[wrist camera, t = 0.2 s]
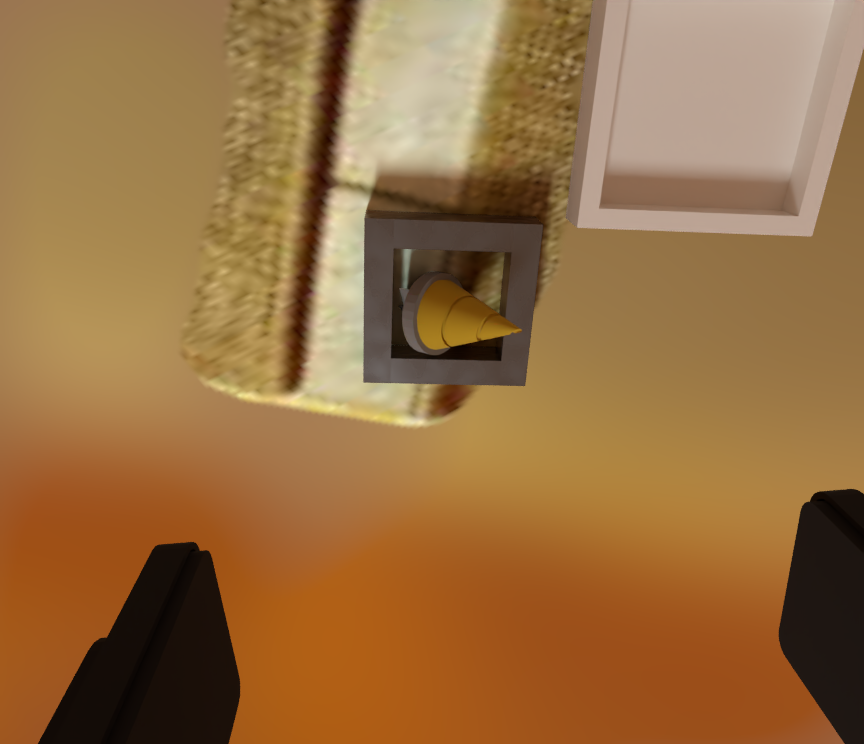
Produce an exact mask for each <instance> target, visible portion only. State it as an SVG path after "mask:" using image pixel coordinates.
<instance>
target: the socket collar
mask: <svg viewBox="0 0 864 744" xmlns="http://www.w3.org/2000/svg"><path fill="white" fill-rule="evenodd" d="M542 231H543V224H542V223H541V222H540V221H539V220H538V219H537V218H536V217H526V216H500V215H474V214H447V213H421V212H395V211H369V210H366V214H365V238H364V380H363V382H368V383H414V384H460V385H507V386H509V385H510V386H525V382H526V373H527V364H528V355H529V347H530V338H531V329H532V320H533V311H534V302H535V293H536V284H537V275H538V267H539V258H540V249H541V240H542ZM394 248H398V249H427V250H456V251H485V252H505V257H504V268H503V278H502V289H501V300H500V311H499V314H500V315H501V316H503V317H504V318H506V319H507V320H509V321H510V322H511V323H513V324H514V325H516V326H517V327H519V328H520V329H521V330H522V332H520V333H514V332H512V333H511V334H510V335H505V336H501V337H497V344H496V347H467V346H452V347H451V348H450V349H448V350H447V351H446V352H444V353H442V354H440V355H430V354H426V353H422V352H418V351H416V350H415V349H413V348H412V347H411V346H410V345H391V333H392V292H393V251H394Z"/></svg>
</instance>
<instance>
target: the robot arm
mask: <svg viewBox="0 0 864 744" xmlns="http://www.w3.org/2000/svg"><path fill="white" fill-rule="evenodd" d="M779 641H780V645H781V648H782V651H783V653H784V655H785V657H786V658H787V660H788V661H789V663H790V664H791V666H792V667H793V669H794V670H795V671H796V673H797V674H798V676H799V677H800V679H801V680H802V682H803V683H804V685H805V686H806V688H807V689H808V690H809V692H810V694H811V695H812V696H813V698H814V699H815V701H816V702H817V704H818V705H819V707H820V708H821V710H822V711H823V712H824V714H825V716H826V717H827V718H828V720H829V721H830V723H831V724H832V726H833V727H834V729H835V730H836V732H837V733H838V735H839V736H840V737H841V739H842V740H843V742H844V743H845V744H864V494H863V493H861V492H860V491H858V490H855V489H847V490H833V491H822V492H817V493H815V494H814V495H813V496H812V498H811V500H810V502H806V503H805V504H804V505H803V506H802V509H801V512H800V518H799V524H798V529H797V534H796V540H795V545H794V550H793V556H792V562H791V567H790V572H789V578H788V583H787V589H786V595H785V600H784V605H783V611H782V616H781V622H780V627H779ZM239 698H240V679H239V674H238V669H237V665H236V661H235V656H234V652H233V647H232V643H231V639H230V634H229V630H228V626H227V621H226V617H225V613H224V608H223V604H222V600H221V595H220V591H219V587H218V582H217V578H216V574H215V569H214V565H213V561H212V557H211V554H210V552H209V551H207V550H205V551H200V550H199V547H198V546H197V544H196V543H194V542H187V543H174V544H162V545H157V546H155V548H154V549H153V550H152V552H151V554H150V556H149V558H148V560H147V562H146V564H145V565H144V567H143V569H142V571H141V573H140V575H139V577H138V579H137V581H136V583H135V585H134V587H133V589H132V590H131V592H130V594H129V596H128V598H127V600H126V602H125V604H124V606H123V608H122V610H121V612H120V614H119V615H118V617H117V619H116V621H115V623H114V625H113V627H112V629H111V631H110V633H109V635H108V637H107V638H100V639H99V640H97V641H96V642H94V644H93V645H92V646H91V648H90V649H89V650H88V652H87V654H86V656H85V658H84V660H83V661H82V663H81V665H80V667H79V669H78V671H77V673H76V674H75V676H74V678H73V680H72V682H71V683H70V685H69V687H68V689H67V691H66V693H65V695H64V696H63V698H62V700H61V702H60V704H59V706H58V708H57V709H56V711H55V713H54V715H53V717H52V719H51V720H50V722H49V724H48V726H47V728H46V730H45V732H44V734H43V735H42V737H41V739H40V741H39V743H38V744H228V743H229V740H230V736H231V732H232V728H233V723H234V720H235V715H236V712H237V707H238V704H239Z"/></svg>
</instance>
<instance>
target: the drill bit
mask: <svg viewBox="0 0 864 744" xmlns="http://www.w3.org/2000/svg"><path fill="white" fill-rule="evenodd" d="M399 289H400V293H401V297H402V300H403V304H404V305H401V306H399V308H400V309H401V310H402V311H403V312H402V327H403V332H404V335H405V338H406V340H407V342H408V343H409V345H410V346H411V347H412V348H413V349H415V350H416V351H418V352H422V353H426V354H430V355H440V354H442V353H444V352H446V351H447V350H448V349H450V348H451V347H452V346H457V345H462V344H467V343H472V342H477V341H480V340H486V339H491V338H496V337H501V336H505V335H510V334H511V333H512V332H514V333H520V332H522V330H521V329H520V328H519V327H517V326H516V325H514V324H513V323H511V322H510V321H509V320H507V319H506V318H504V317H503V316H501V315H500V314H498V313H497V312H496V311H494V310H493V309H491V308H490V307H488V306H487V305H485V304H484V303H483V302H481V301H480V300H478V299H477V298H475V297H474V296H472V295H471V294H470V293H468V292H467V291H465V290H464V289H463V287H462V285H461V283H460V282H459V281H458V279H457V278H455V277H454V276H453V275H450V274H447V273H441V272H428V273H425V274H423V275H422V276H420V277H419V278H418V279H417V280H416V281H415V282H414V284H413V285H412V286H411V288H410V290H409V289H403V288H399Z"/></svg>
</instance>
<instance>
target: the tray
mask: <svg viewBox="0 0 864 744" xmlns="http://www.w3.org/2000/svg"><path fill="white" fill-rule="evenodd" d="M863 48H864V0H593V5H592V13H591V21H590V29H589V37H588V45H587V53H586V61H585V69H584V77H583V85H582V93H581V101H580V109H579V116H578V124H577V132H576V140H575V148H574V156H573V164H572V172H571V180H570V188H569V196H568V204H567V212H566V219H568V220H569V221H570V222H571V223H572V224H573V225H575V226H576V227H577V228H601V229H602V228H603V229H629V230H656V231H681V232H682V231H683V232H708V233H736V234H737V233H739V234H762V235H764V234H765V235H791V236H812V235H813V231H814V227H815V224H816V220H817V216H818V213H819V208H820V205H821V202H822V198H823V194H824V191H825V186H826V183H827V179H828V176H829V172H830V169H831V165H832V161H833V158H834V154H835V150H836V147H837V143H838V139H839V135H840V132H841V128H842V125H843V121H844V117H845V113H846V110H847V106H848V103H849V99H850V96H851V92H852V88H853V84H854V81H855V77H856V73H857V70H858V66H859V63H860V59H861V55H862V52H863Z"/></svg>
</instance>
